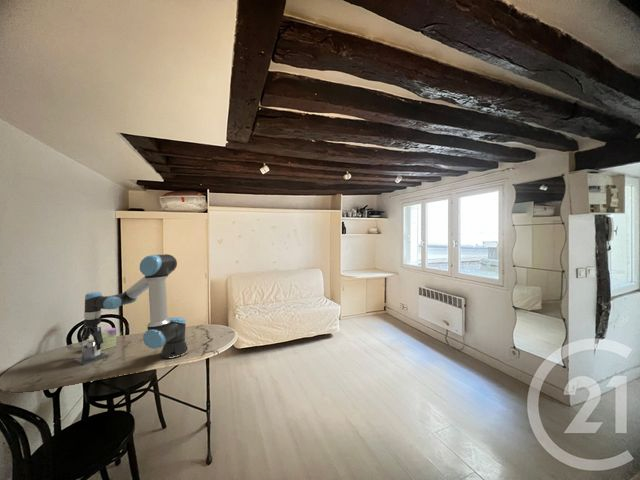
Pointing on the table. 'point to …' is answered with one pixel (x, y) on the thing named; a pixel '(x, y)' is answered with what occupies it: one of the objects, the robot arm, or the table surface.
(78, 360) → the shaft stand
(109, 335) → the box
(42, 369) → the table surface
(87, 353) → the hub
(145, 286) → the robot arm
